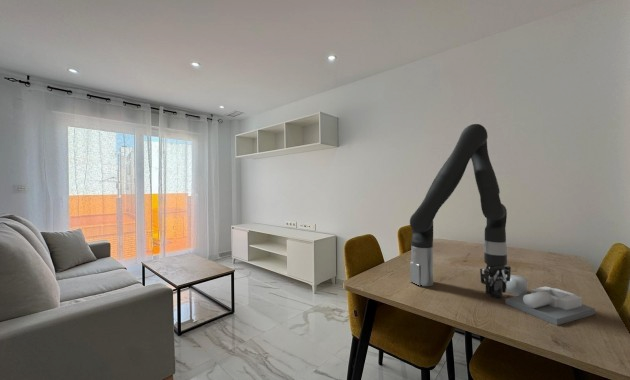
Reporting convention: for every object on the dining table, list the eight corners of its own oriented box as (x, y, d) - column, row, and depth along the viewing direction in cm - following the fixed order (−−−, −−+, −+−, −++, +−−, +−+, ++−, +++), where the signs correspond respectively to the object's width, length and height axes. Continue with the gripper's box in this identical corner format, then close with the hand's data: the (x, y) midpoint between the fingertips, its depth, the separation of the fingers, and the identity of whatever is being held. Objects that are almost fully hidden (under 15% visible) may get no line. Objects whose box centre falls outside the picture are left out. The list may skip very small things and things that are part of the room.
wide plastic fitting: (519, 296, 103) (519, 281, 103) (502, 290, 109) (502, 276, 109) (531, 293, 105) (531, 279, 105) (513, 287, 111) (513, 274, 111)
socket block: (556, 325, 82) (556, 305, 81) (505, 303, 97) (505, 287, 97) (595, 314, 88) (594, 295, 88) (541, 295, 103) (541, 279, 103)
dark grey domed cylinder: (497, 299, 101) (496, 281, 100) (486, 295, 105) (486, 278, 105) (505, 297, 102) (505, 280, 102) (494, 293, 106) (494, 276, 106)
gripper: (491, 256, 97) (491, 299, 98) (517, 252, 102) (518, 294, 102) (473, 251, 104) (474, 292, 105) (498, 248, 109) (499, 287, 109)
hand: (495, 293), depth 103 cm, fingers open, 6 cm apart
